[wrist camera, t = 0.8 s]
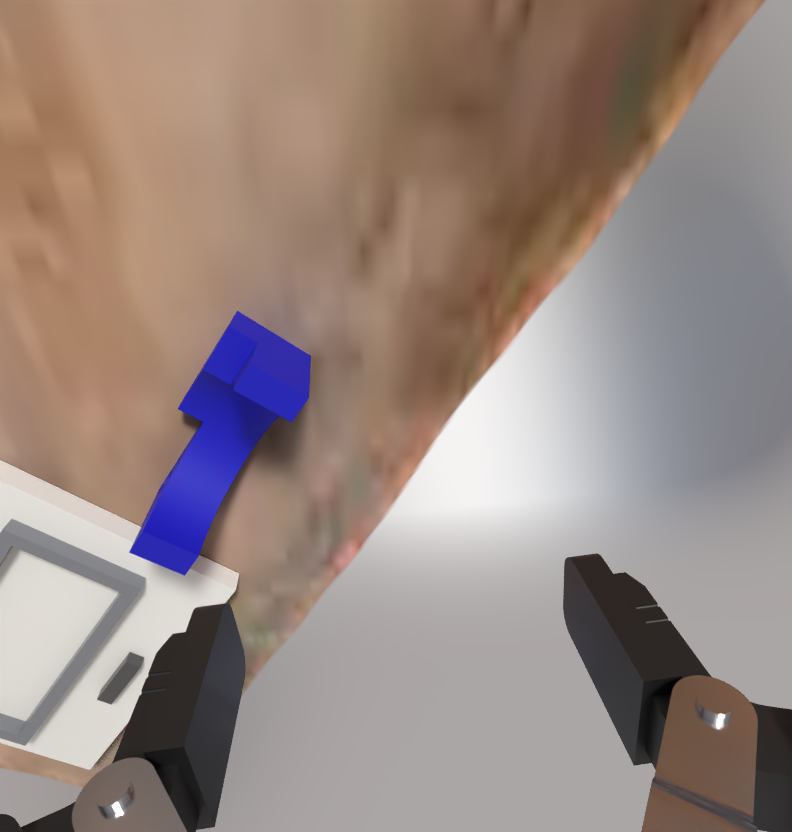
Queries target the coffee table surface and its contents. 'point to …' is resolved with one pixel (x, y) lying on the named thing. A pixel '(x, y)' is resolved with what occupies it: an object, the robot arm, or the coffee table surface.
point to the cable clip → (222, 435)
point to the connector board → (81, 618)
